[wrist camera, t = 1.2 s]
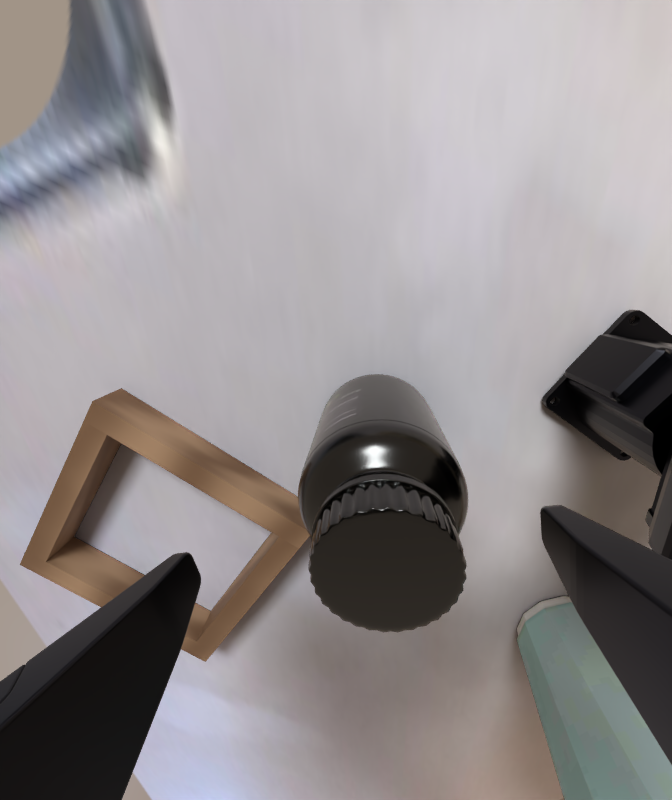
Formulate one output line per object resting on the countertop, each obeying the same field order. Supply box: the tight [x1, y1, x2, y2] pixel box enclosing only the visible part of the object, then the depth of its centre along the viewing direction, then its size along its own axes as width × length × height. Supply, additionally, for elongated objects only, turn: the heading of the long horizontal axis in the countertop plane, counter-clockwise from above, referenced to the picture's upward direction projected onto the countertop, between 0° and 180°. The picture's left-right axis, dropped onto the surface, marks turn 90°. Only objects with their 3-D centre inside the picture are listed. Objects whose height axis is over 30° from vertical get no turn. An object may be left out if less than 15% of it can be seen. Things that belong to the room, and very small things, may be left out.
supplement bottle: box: [298, 374, 468, 632], centre depth 16 cm, size 7×7×12 cm
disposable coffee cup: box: [517, 596, 672, 800], centre depth 19 cm, size 11×11×15 cm
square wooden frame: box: [20, 388, 310, 662], centre depth 24 cm, size 15×15×2 cm
